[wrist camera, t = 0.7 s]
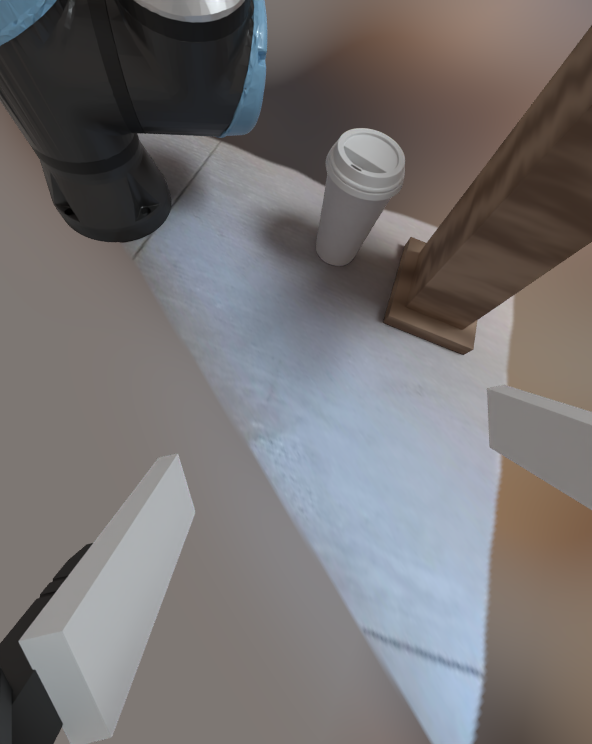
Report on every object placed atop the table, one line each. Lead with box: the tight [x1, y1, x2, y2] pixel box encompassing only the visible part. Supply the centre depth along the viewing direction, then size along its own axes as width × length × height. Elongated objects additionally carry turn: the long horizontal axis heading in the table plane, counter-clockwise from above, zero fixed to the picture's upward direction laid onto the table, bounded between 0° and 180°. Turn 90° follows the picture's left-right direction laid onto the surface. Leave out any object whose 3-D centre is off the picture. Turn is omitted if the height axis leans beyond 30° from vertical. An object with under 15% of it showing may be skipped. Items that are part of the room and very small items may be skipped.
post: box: [383, 26, 592, 355], centre depth 32 cm, size 16×13×30 cm
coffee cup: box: [316, 128, 405, 266], centre depth 39 cm, size 10×10×15 cm
